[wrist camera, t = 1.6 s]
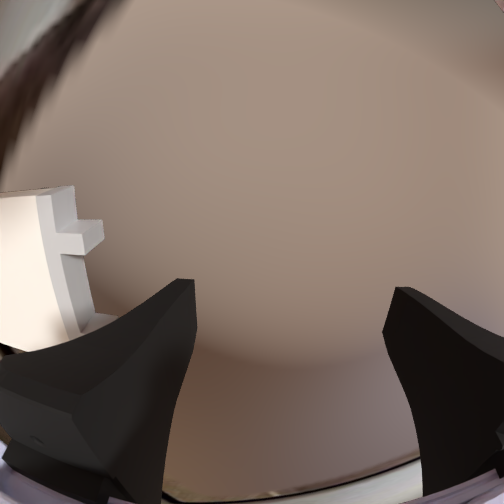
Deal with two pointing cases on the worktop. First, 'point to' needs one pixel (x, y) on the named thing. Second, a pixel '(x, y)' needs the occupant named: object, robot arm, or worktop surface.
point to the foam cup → (500, 4)
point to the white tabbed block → (45, 269)
